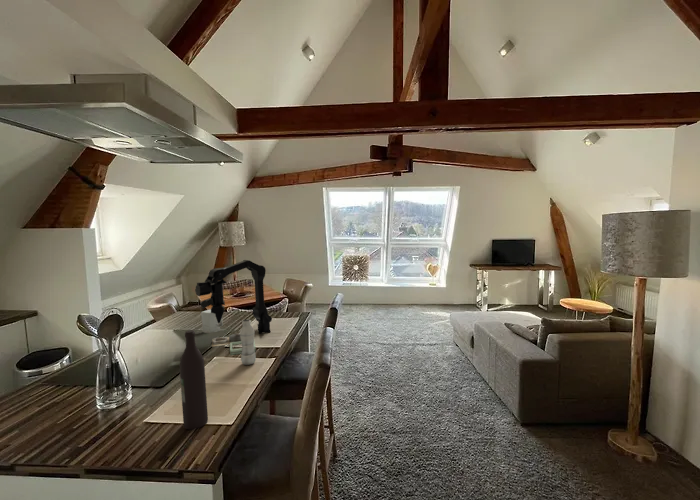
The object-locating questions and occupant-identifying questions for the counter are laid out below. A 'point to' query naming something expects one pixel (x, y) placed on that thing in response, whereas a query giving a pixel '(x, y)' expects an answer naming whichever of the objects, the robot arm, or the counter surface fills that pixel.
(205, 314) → the supplement box
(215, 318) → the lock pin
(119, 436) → the counter surface
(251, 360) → the plastic bottle
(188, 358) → the wine bottle
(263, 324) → the robot arm
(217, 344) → the pulley board
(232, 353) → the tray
